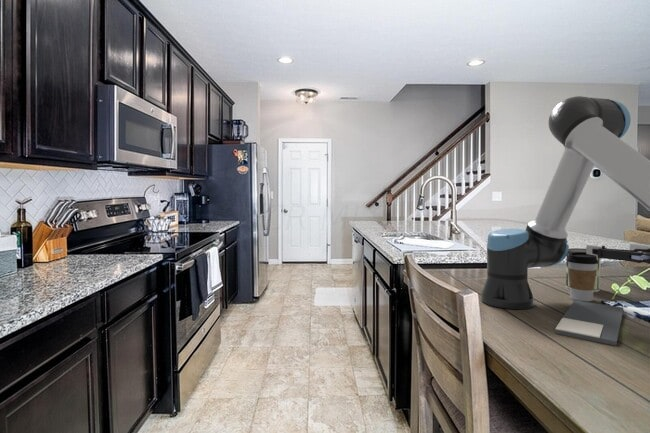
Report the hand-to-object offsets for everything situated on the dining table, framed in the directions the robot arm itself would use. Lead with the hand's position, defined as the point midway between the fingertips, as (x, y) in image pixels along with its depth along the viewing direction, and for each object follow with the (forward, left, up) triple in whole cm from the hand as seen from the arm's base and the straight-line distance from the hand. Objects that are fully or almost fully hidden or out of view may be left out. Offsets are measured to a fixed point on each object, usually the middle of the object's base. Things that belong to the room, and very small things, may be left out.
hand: (609, 248), depth 108 cm
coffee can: (+10, +22, -18) cm, 30 cm away
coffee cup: (0, +10, -18) cm, 21 cm away
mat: (-13, -10, -18) cm, 24 cm away
